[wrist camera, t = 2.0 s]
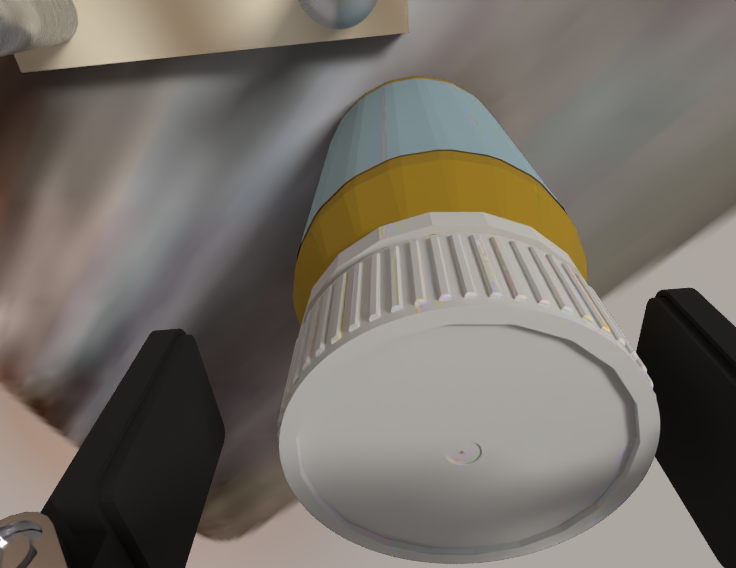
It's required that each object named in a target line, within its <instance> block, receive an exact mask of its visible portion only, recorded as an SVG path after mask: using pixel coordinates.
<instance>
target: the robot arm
mask: <svg viewBox="0 0 736 568" xmlns="http://www.w3.org/2000/svg"><path fill="white" fill-rule="evenodd" d="M636 353H637V355H638V356H639V358H640V359H641V361H642V362H643V364H644V365H645V367H646V369H647V374H648V375H649V377H650V378H651V380H652V382H653V391H654V393H655V394H656V399H657V404H658V408H659V414H660V436H659V442H658V446H657V450H656V453H655V457H656V459H657V460H658V462H659V464H660V465H661V467H662V469H663V470H664V472H665V474H666V475H667V477H668V478H669V480H670V482H671V483H672V485H673V487H674V488H675V490H676V492H677V493H678V495H679V497H680V498H681V500H682V502H683V503H684V505H685V507H686V508H687V510H688V512H689V513H690V515H691V517H692V518H693V520H694V521H695V523H696V525H697V527H698V528H699V530H700V532H701V533H702V535H703V536H704V538H705V540H706V541H707V543H708V545H709V546H710V548H711V550H712V551H713V553H714V554H715V556H716V558H717V560H718V561H719V562H720V563H721V565H722V566H723V567H724V568H736V327H735V326H734V325H733V324H732V323H731V322H730V321H728V320H727V319H726V318H725V317H724V316H723V315H722V314H721V313H720V312H719V311H718V310H717V309H716V308H715V307H714V306H712V305H711V304H710V303H709V302H708V301H707V300H706V299H705V298H704V297H703V296H702V295H701V294H700V293H699V292H698V291H696V290H695V289H693V288H680V289H668V290H661V291H659V292H658V293H657V294H656V296H655V298H651V299H649V301H648V303H647V306H646V310H645V315H644V319H643V324H642V328H641V333H640V337H639V341H638V346H637V350H636ZM224 438H225V430H224V424H223V421H222V418H221V415H220V412H219V409H218V406H217V403H216V401H215V398H214V395H213V392H212V389H211V386H210V383H209V380H208V377H207V374H206V371H205V368H204V365H203V362H202V359H201V356H200V353H199V350H198V347H197V344H196V341H195V339H194V337H193V336H192V335H186V333H185V332H184V331H183V330H182V329H170V330H157V331H153V332H152V333H151V334H150V335H149V337H148V338H147V340H146V342H145V343H144V345H143V346H142V348H141V350H140V351H139V353H138V355H137V356H136V358H135V359H134V361H133V363H132V364H131V366H130V368H129V369H128V371H127V373H126V374H125V376H124V377H123V379H122V381H121V382H120V384H119V386H118V387H117V389H116V390H115V392H114V394H113V395H112V397H111V399H110V400H109V402H108V404H107V405H106V406H105V408H104V410H103V411H102V413H101V415H100V416H99V418H98V420H97V421H96V423H95V424H94V426H93V428H92V429H91V431H90V433H89V434H88V436H87V437H86V439H85V441H84V442H83V444H82V446H81V447H80V449H79V451H78V452H77V454H76V456H75V457H74V459H73V460H72V462H71V464H70V465H69V467H68V469H67V470H66V472H65V473H64V475H63V477H62V478H61V480H60V482H59V483H58V485H57V486H56V488H55V490H54V491H53V493H52V495H51V496H50V498H49V499H48V501H47V503H46V504H45V506H44V508H43V509H42V511H41V513H39V512H24V513H20V514H16V515H12V516H9V517H7V518H5V519H2V520H0V568H185V566H186V563H187V560H188V556H189V553H190V550H191V547H192V544H193V540H194V537H195V534H196V531H197V527H198V524H199V521H200V518H201V514H202V511H203V508H204V505H205V502H206V498H207V495H208V492H209V489H210V485H211V482H212V479H213V476H214V472H215V469H216V466H217V463H218V460H219V456H220V453H221V450H222V447H223V443H224Z"/></svg>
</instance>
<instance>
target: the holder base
mask: <svg viewBox="0 0 736 568" xmlns="http://www.w3.org/2000/svg"><path fill="white" fill-rule="evenodd" d="M72 1H73V3H74V5H75V8H76V11H77V15H78V26H77V30H76V33H75V34H74V36H73V37H72V38H71V39H70V40H68V41H67V42H64V43H60V44H56V45H51V46H47V47H42V48H38V49H34V50H29V51H25V52H20V53H16V54H14V56H15V59H16V61H17V64H18V66H19V68H20V71H21V73H24V72H34V71H44V70H53V69H63V68H73V67H82V66H92V65H102V64H111V63H121V62H130V61H140V60H150V59H159V58H169V57H179V56H188V55H198V54H208V53H217V52H227V51H237V50H246V49H256V48H266V47H275V46H285V45H295V44H304V43H314V42H324V41H333V40H343V39H353V38H362V37H372V36H382V35H391V34H401V33H409V24H408V4H407V0H378V1H377V3H376V5H375V7H374V9H373V10H372V12H371V13H370V14H369V15H368V17H367V18H365V19H364V20H363V21H362V22H360V23H359V24H357V25H355V26H353V27H350V28H347V29H331V28H327V27H324V26H322V25H320V24H318V23H316V22H315V21H314V20H312V19H311V18H310V17H309V16H308V15H307V14H306V12H305V11H304V10H303V8H302V7H301V5H300V3H299V1H298V0H72Z"/></svg>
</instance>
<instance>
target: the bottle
mask: <svg viewBox="0 0 736 568" xmlns="http://www.w3.org/2000/svg"><path fill="white" fill-rule="evenodd" d="M293 303H294V309H295V312H296V315H297V319H298V322H299V325H300V331H299V335H298V338H297V339H296V343H295V348H294V352H293V356H292V361H291V365H290V369H289V374H288V378H287V382H286V387H285V391H284V395H283V400H282V404H281V408H280V415H279V419H278V428H279V431H278V436H277V440H278V442H279V453H280V460H281V465H282V469H283V472H284V475H285V477H286V480H287V482H288V484H289V486H290V488H291V489H292V491H293V493H294V494H295V496H296V497H297V499H298V500H299V501H300V503H301V504H302V505H303V506H304V507H305V508H306V509H307V511H308V512H309V513H310V514H311V515H312V516H314V517H315V518H316V519H317V520H318V521H319V522H321V523H322V524H323V525H325V526H326V527H327V528H329V529H330V530H332V531H333V532H335V533H336V534H338V535H340V536H341V537H343V538H345V539H347V540H349V541H351V542H353V543H356V544H358V545H360V546H362V547H365V548H368V549H370V550H373V551H376V552H379V553H382V554H386V555H389V556H393V557H398V558H403V559H408V560H413V561H420V562H429V563H444V564H464V563H465V564H466V563H482V562H490V561H498V560H504V559H509V558H514V557H519V556H523V555H527V554H530V553H534V552H537V551H540V550H543V549H546V548H549V547H552V546H555V545H557V544H560V543H562V542H564V541H566V540H569V539H571V538H573V537H575V536H577V535H579V534H581V533H583V532H584V531H586V530H588V529H590V528H591V527H593V526H594V525H596V524H597V523H599V522H600V521H602V520H603V519H605V518H606V517H607V516H609V515H610V514H611V513H612V512H614V511H615V510H616V509H617V508H618V507H619V506H620V505H622V504H623V503H624V502H625V501H626V500H627V499H628V497H629V496H630V495H631V494H632V493H633V492H634V491H635V489H636V488H637V487H638V486H639V484H640V483H641V481H642V480H643V478H644V477H645V475H646V473H647V472H648V469H649V468H650V466H651V464H652V461H653V459H654V456H655V453H656V450H657V446H658V442H659V436H660V414H659V408H658V404H657V399H656V394H655V393H654V391H653V382H652V380H651V378H650V377H649V375H648V374H647V369H646V367H645V365H644V364H643V362H642V361H641V359H640V358H639V356H638V355H637V353H636V352H635V351H634V349H633V348H632V346H631V345H630V343H629V342H628V340H627V339H626V337H625V336H624V334H623V333H622V331H621V330H620V328H619V327H618V325H617V324H616V322H615V321H614V319H613V318H612V316H611V315H610V313H609V312H608V310H607V309H606V307H605V306H604V304H603V303H602V301H601V300H600V298H599V297H598V295H597V294H596V292H595V291H594V290H593V288H592V287H590V286H588V284H587V263H586V256H585V254H584V251H583V248H582V245H581V242H580V239H579V236H578V233H577V230H576V228H575V226H574V225H573V223H572V221H571V219H570V218H569V217H568V215H567V213H566V212H565V210H564V208H563V207H562V205H561V204H560V203H559V202H558V200H557V199H556V198H555V196H554V195H553V194H552V192H551V191H550V190H549V189H548V187H547V186H546V185H545V183H544V182H543V181H542V179H541V178H540V177H539V176H538V174H537V173H536V172H535V170H534V169H533V168H532V167H531V165H530V164H529V163H528V161H527V160H526V159H525V157H524V156H523V155H522V154H521V152H520V151H519V150H518V148H517V147H516V146H515V144H514V143H513V142H512V141H511V139H510V138H509V137H508V135H507V134H506V133H505V132H504V130H503V129H502V128H501V126H500V125H499V124H498V122H497V121H496V120H495V119H494V117H493V116H492V115H491V114H490V113H489V111H488V110H487V109H486V108H485V107H484V106H483V105H482V103H481V102H480V101H479V100H478V99H477V98H476V97H475V96H473V95H472V94H471V93H470V92H468V91H466V90H464V89H462V88H461V87H459V86H457V85H455V84H453V83H452V82H449V81H446V80H443V79H436V78H430V77H424V76H413V77H407V78H402V79H396V80H392V81H389V82H386V83H384V84H382V85H380V86H378V87H376V88H375V89H373V90H371V91H369V92H367V93H366V94H364V95H363V96H362V97H361V98H359V99H358V101H357V102H356V103H355V104H354V105H353V106H352V107H351V108H350V109H349V110H348V111H347V112H346V113H345V115H344V116H343V118H342V119H341V121H340V123H339V125H338V128H337V130H336V132H335V134H334V136H333V138H332V141H331V143H330V146H329V150H328V153H327V156H326V160H325V163H324V167H323V170H322V173H321V177H320V180H319V183H318V187H317V190H316V194H315V197H314V200H313V204H312V207H311V210H310V214H309V217H308V220H307V224H306V227H305V231H304V234H303V237H302V241H301V244H300V248H299V251H298V255H297V263H296V267H295V275H294V288H293Z"/></svg>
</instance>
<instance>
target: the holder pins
mask: <svg viewBox="0 0 736 568" xmlns="http://www.w3.org/2000/svg"><path fill="white" fill-rule="evenodd" d="M298 1H299V3H300V5H301V7H302V8H303V10H304V11H305V12H306V14H307V15H308V16H309V17H310V18H311V19H312V20H314V21H315V22H316V23H318V24H320V25H322V26H324V27H327V28H331V29H347V28H350V27H353V26H355V25H357V24H359V23H360V22H362V21H363V20H364V19H365V18H367V17H368V15H369V14H370V13H371V12H372V10H373V9H374V7H375V5H376V3H377V1H378V0H298ZM77 26H78V15H77V11H76V8H75V5H74V3H73V1H72V0H0V57H2V56H7V55H11V54H16V53H20V52H25V51H29V50H34V49H38V48H42V47H47V46H51V45H56V44H60V43H64V42H67V41H68V40H70V39H71V38H72V37H73V36H74V34H75V33H76V30H77Z"/></svg>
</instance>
